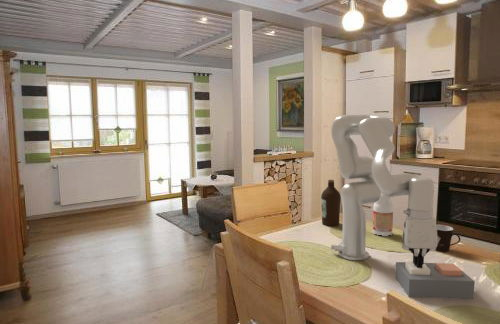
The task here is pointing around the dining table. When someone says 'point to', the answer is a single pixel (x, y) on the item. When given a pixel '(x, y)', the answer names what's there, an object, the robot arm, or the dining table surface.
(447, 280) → the grey button box
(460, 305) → the dining table surface
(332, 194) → the olive oil
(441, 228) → the coffee mug
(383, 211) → the fruit juice
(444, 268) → the terracotta key
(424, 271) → the cream key
